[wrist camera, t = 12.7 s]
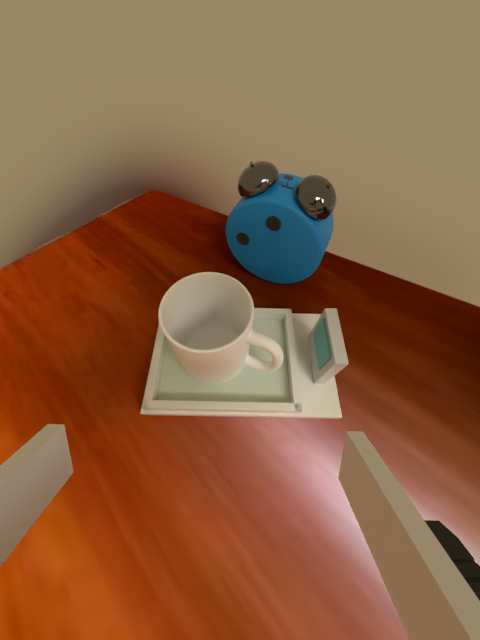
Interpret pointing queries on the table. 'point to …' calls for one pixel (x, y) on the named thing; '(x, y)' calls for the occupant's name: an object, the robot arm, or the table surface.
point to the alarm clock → (280, 223)
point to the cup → (214, 328)
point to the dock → (259, 373)
